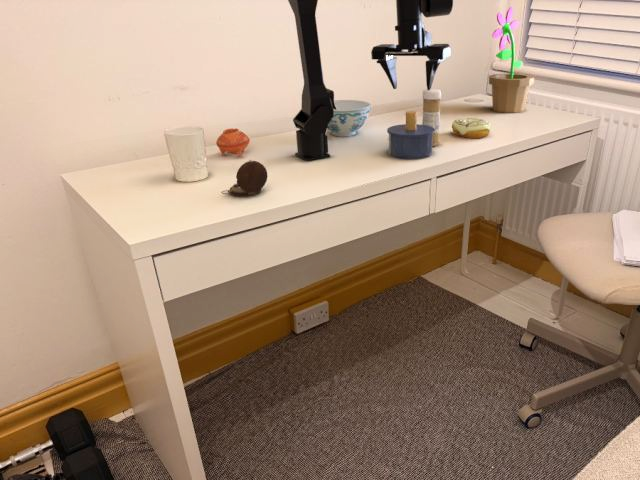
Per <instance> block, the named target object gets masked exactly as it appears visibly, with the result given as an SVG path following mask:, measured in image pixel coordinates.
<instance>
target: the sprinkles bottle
mask: <svg viewBox="0 0 640 480" xmlns="http://www.w3.org/2000/svg"><path fill="white" fill-rule="evenodd" d="M441 99H442V90H440V89H438V88H431V89H430V90H427V88H425V89H424V90H422V120H421V121H422V123H421V125H426V126H430V127H433V128H434V129H435V132H434V133H433V146H432V147H437V146H439V145H440V128H441V127H440V125H441Z"/></svg>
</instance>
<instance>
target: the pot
mask: <svg viewBox="0 0 640 480" xmlns="http://www.w3.org/2000/svg"><path fill="white" fill-rule="evenodd" d="M250 140H251V139H250V137H249V135H247V134H246V133H245V132H243V131H241V130H240V129H239V128H233V127H232V128H226V129H224V130H223V131H222V133H221V134H220V135H219V137H218V138H217V139H216V141H215V143H216V144H215V145H216V146H217V147H218V148H219V151H220V154H221V155H222V156H225V157H226V153H229V154H237V156H238V158H241V157H242V153H244V151H245V149H246V148H247V147H248V146H249V144H250Z"/></svg>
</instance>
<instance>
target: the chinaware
mask: <svg viewBox="0 0 640 480" xmlns="http://www.w3.org/2000/svg"><path fill="white" fill-rule="evenodd" d="M334 104H335V107H336V110H335V109H334V116H333V118H332V119H331V121H330V122H329V123H328V127H327V130H329V131H331V135H332V136H335V137H352V136H355V135H357V131H358V130H359V129H360V128H361V127H363V126H364V124H365V123H366V122H367V120H368V117H369V114H370V111H371V103H370V102H368V101H364V100H358V99H357V100H355V99H336V100H335V99H334Z"/></svg>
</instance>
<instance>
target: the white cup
mask: <svg viewBox="0 0 640 480" xmlns="http://www.w3.org/2000/svg"><path fill="white" fill-rule="evenodd" d="M163 135H164V139H165V143H166V148H167V151H168V152H167V153H168V155H169V160H170V163H171V167H172V168H173V174H174V177H175V179H176V181H179V182H183V183H187V182H188V183H190V182H198V181H202V180H205V179H207V178H208V177H209V169H208V158H207V148H206V147H207V145H206V137H205V129H204V127H201V126H195V125H193V126H192V125H189V126H188V125H186V126H185V125H183V126H175V127H171V128H170V127H169V128H167V129H166V130H163Z"/></svg>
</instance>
